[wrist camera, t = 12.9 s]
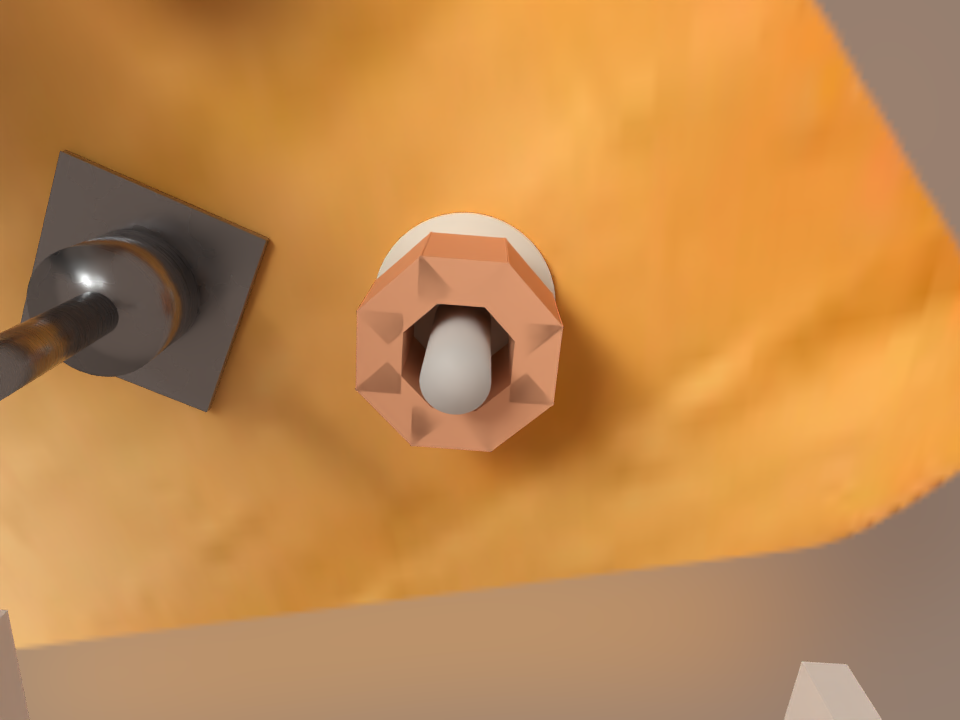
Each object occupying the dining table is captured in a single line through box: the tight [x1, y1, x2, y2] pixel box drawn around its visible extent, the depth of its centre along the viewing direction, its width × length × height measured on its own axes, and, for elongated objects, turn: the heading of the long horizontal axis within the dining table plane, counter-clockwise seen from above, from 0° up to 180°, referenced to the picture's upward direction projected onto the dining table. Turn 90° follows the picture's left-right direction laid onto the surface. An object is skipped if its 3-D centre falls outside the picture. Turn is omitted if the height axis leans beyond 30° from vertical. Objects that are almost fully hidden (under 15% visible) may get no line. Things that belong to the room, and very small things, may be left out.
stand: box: [0, 150, 269, 412], centre depth 29 cm, size 10×10×14 cm
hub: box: [377, 212, 555, 415], centre depth 30 cm, size 9×9×10 cm
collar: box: [355, 232, 564, 452], centre depth 30 cm, size 8×8×5 cm
